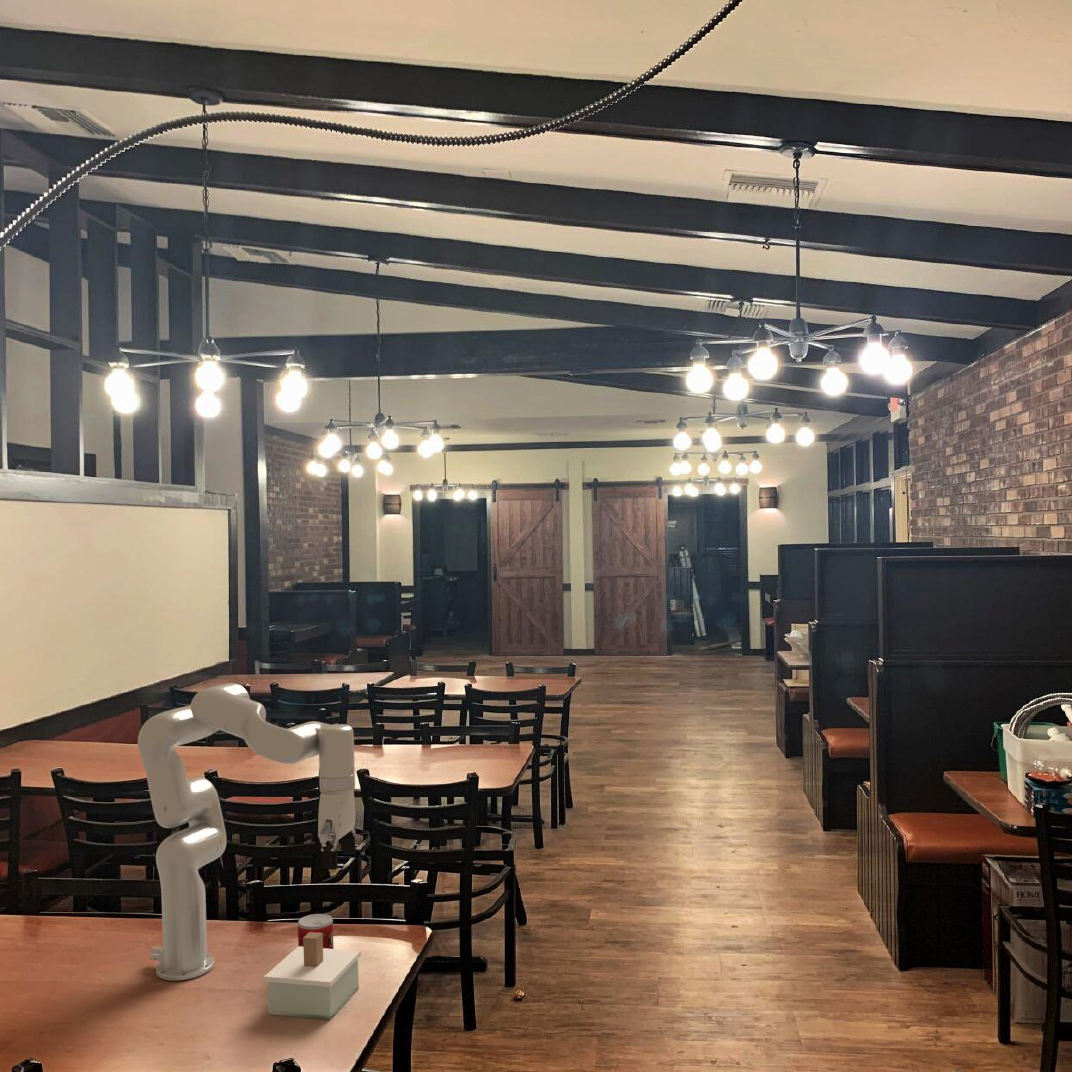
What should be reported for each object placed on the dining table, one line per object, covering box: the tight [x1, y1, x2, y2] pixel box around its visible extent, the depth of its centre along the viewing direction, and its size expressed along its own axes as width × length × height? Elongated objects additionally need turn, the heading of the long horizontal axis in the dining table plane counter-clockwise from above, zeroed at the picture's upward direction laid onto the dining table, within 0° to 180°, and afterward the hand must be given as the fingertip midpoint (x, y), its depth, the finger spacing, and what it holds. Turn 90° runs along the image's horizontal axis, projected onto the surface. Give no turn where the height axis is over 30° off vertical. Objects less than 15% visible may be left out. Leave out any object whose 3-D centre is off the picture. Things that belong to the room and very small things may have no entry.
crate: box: [267, 958, 360, 1021], centre depth 204 cm, size 14×14×7 cm
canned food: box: [297, 913, 334, 949], centre depth 221 cm, size 8×8×11 cm
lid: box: [263, 932, 362, 987], centre depth 204 cm, size 15×15×7 cm
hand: (339, 861), depth 208 cm, fingers open, 9 cm apart
